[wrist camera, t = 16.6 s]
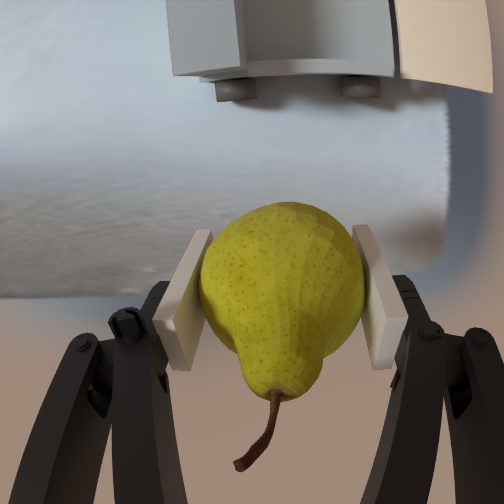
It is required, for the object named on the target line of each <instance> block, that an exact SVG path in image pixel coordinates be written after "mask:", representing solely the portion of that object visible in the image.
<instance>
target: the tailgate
mask: <svg viewBox="0 0 504 504" xmlns="http://www.w3.org/2000/svg"><path fill="white" fill-rule="evenodd" d="M394 3H395V11H396V19H397V29H398V40H399V53H400V72H401V78H403V79H412V80H420V81H427V82H434V83H440V84H446V85H452V86H458V87H463V88H468V89H473V90H477V91H482V92H486V93H491V94H493V69H492V51H491V39H490V30H489V22H488V14H487V8H486V1H485V0H394Z"/></svg>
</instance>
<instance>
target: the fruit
mask: <svg viewBox="0 0 504 504" xmlns="http://www.w3.org/2000/svg"><path fill="white" fill-rule="evenodd" d="M199 296H200V301H201V306H202V309H203V312H204V315H205V317H206V319H207V321H208V323H209V325H210V326H211V328H212V330H213V332H214V333H215V335H216V336H217V337H218V338H219V339H220V340H221V342H222V343H223V344H224V345H225V346H227V348H228V349H230V350H232V351H233V352H235V353H236V354H238V357H239V360H240V365H241V369H242V375H243V378H244V379H245V381H246V383H247V385H248V386H249V388H250V389H251V390H252V391H253V392H254V393H255V394H256V395H257V396H259V397H261V398H263V399H266V400H268V401H271V402H270V416H269V420H268V425H267V428H266V430H265V432H264V433H263V435H262V436H261V437H260V438H259V439H258V440H257V442H255V443H254V444H253V445H252V446H251V447H250V449H249V451H248V452H247V453H246V454H245V455H244V456H243V457H241V458H240V459H238V460H235V461H234V462H233V463H234V466H235V470H236V471H238V472H243V471H245V470H246V469H247V468H248V467H250V466H251V465H252V464H253V462H254V461H255V460H256V459H257V458H258V457H259V456H260V455H261V454H262V453H263V452H264V450H265V449H266V448H267V447H268V445H269V443H270V440H271V438H272V435H273V432H274V428H275V423H276V419H277V414H278V410H279V406H280V402H283V401H289V400H293V399H295V398H298V397H300V396H301V395H303V394H304V393H306V392H307V391H308V390H309V389H310V387H311V386H312V385H313V384H314V382H315V381H316V380H317V379H318V377H319V374H320V372H321V369H322V364H323V358H325V357H327V356H328V355H330V354H332V353H334V352H335V351H336V350H337V349H338V348H339V347H340V346H341V345H342V344H343V343H344V342H345V341H346V340H347V339H348V337H349V336H350V335H351V333H352V332H353V330H354V329H355V327H356V325H357V323H358V321H359V319H360V317H361V315H362V313H363V310H364V307H365V281H364V271H363V266H362V262H361V258H360V255H359V252H358V250H357V248H356V245H355V243H354V241H353V239H352V238H351V236H350V235H349V233H348V232H347V230H346V229H345V227H344V226H343V225H341V224H340V223H339V222H338V221H337V220H336V219H335V218H334V217H332V216H331V215H330V214H328V213H327V212H325V211H323V210H320V209H318V208H316V207H314V206H311V205H306V204H301V203H296V202H280V203H274V204H271V205H267V206H263V207H260V208H258V209H255V210H253V211H251V212H249V213H247V214H244V215H243V216H241V217H239V218H238V219H236V220H235V221H233V222H231V223H230V224H229V225H228V226H227V227H226V228H224V229H223V230H222V231H221V232H220V233H219V234H218V236H217V237H216V238H215V239H214V241H213V242H212V243H211V244H210V246H209V247H208V248H207V251H206V254H205V257H204V260H203V263H202V268H201V273H200V279H199Z"/></svg>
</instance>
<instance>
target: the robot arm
mask: <svg viewBox="0 0 504 504" xmlns="http://www.w3.org/2000/svg"><path fill="white" fill-rule="evenodd" d="M352 239H353V241H354V243H355V245H356V248H357V250H358V252H359V255H360V258H361V262H362V266H363V271H364V281H365V307H364V310H363V313H362V315H361V320H362V324H363V328H364V333H365V337H366V341H367V346H368V350H369V355H370V360H371V365H372V370H382V369H391V368H392V365H393V363H394V360H395V362H396V366H397V370H396V373H395V375H394V378H393V381H392V383H391V385H390V387H391V388H392V391H391V396H390V401H389V405H388V410H387V414H386V418H385V422H384V426H383V430H382V434H381V438H380V442H379V446H378V449H377V453H376V457H375V460H374V463H373V466H372V469H371V473H370V476H369V479H368V482H367V485H366V488H365V491H364V494H363V497H362V499H361V503H360V504H427V500H428V496H429V492H430V487H431V483H432V478H433V472H434V467H435V462H436V456H437V449H438V443H439V436H440V428H441V419H442V409H443V396H444V401H445V406H446V411H447V419H448V425H449V431H450V440H451V447H452V457H453V465H454V479H455V496H456V504H504V363H503V361H502V358H501V355H500V353H499V350H498V348H497V345H496V343H495V340H494V338H493V337H492V335H491V334H490V333H489V332H488V331H486V330H484V329H482V328H476V327H475V328H470V329H469V330H468V331H467V332H466V334H465V336H464V337H462V336H455V335H450V334H446V333H444V330H443V329H442V327H441V326H440V325H439V324H437V323H436V322H433V321H431V320H430V318H429V315H428V313H427V311H426V309H425V306H424V304H423V302H422V300H421V299H420V296H419V294H418V292H417V290H416V288H415V286H414V284H413V282H412V281H411V280H410V279H409V278H408V277H407V276H405V275H394V276H391V273H390V271H389V269H388V267H387V265H386V262H385V260H384V258H383V256H382V254H381V251H380V249H379V247H378V245H377V243H376V241H375V239H374V237H373V235H372V233H371V231H370V229H369V227H368V225H353V230H352ZM212 242H213V236H212V230H211V229H206V230H196V232H195V234H194V236H193V238H192V240H191V242H190V244H189V246H188V248H187V250H186V252H185V254H184V256H183V258H182V260H181V261H180V263H179V265H178V267H177V269H176V271H175V273H174V275H173V277H172V279H171V281H160V282H158V283H157V284H156V285H155V286H154V287H153V288H152V289H151V291H150V293H149V295H148V298H147V299H146V301H145V302H144V304H143V306H142V308H141V310H139V309H137V308H133V307H129V308H124V309H120V310H118V311H117V312H115V313H114V314H113V315H112V316H111V317H110V319H109V321H108V324H109V326H110V328H111V330H112V332H113V334H114V336H115V339H110V340H104V341H98V339H97V337H96V336H95V335H94V334H91V333H84V334H80V335H78V336H76V337H75V338H74V339H73V340H72V341H71V343H70V344H69V346H68V348H67V350H66V352H65V354H64V356H63V358H62V360H61V362H60V364H59V367H58V369H57V371H56V374H55V375H54V378H53V380H52V382H51V384H50V387H49V389H48V391H47V393H46V396H45V398H44V401H43V403H42V406H41V408H40V410H39V413H38V415H37V418H36V421H35V423H34V426H33V428H32V431H31V434H30V436H29V439H28V442H27V445H26V447H25V450H24V453H23V456H22V459H21V462H20V465H19V469H18V472H17V475H16V478H15V482H14V485H13V489H12V492H11V496H10V500H9V503H8V504H93V502H94V497H95V492H96V487H97V482H98V478H99V473H100V469H101V464H102V460H103V456H104V452H105V447H106V444H107V439H108V436H109V431H110V428H111V424H112V466H113V484H114V499H115V504H188V502H187V498H186V493H185V488H184V483H183V477H182V472H181V466H180V461H179V454H178V448H177V442H176V435H175V429H174V422H173V414H172V406H171V399H170V389H169V381H168V375H167V373H166V370H165V369H166V366H167V364H168V361H169V364H170V366H171V368H172V370H180V371H190V370H191V367H192V363H193V360H194V356H195V353H196V350H197V346H198V343H199V339H200V336H201V332H202V329H203V325H204V322H205V319H206V317H205V315H204V312H203V309H202V306H201V301H200V296H199V279H200V273H201V268H202V263H203V260H204V257H205V254H206V251H207V248H208V247H209V246H210V244H211V243H212Z"/></svg>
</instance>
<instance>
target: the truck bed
mask: <svg viewBox="0 0 504 504" xmlns="http://www.w3.org/2000/svg"><path fill="white" fill-rule="evenodd" d="M166 9H167V21H168V32H169V42H170V52H171V61H172V70H173V76H199V80H200V82H214V81H222V80H231V79H241V78H252V77H266V76H285V75H351V76H369V77H383V78H395V71H394V53H393V40H392V29H391V19H390V11H389V3H388V0H166ZM215 90H216V99H217V102H225V101H236V100H246V99H254V98H257V96H256V85H255V79H246V80H235V81H226V82H218V83H215ZM341 95H342V96H348V97H365V98H380V79H377V78H364V77H341Z"/></svg>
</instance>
